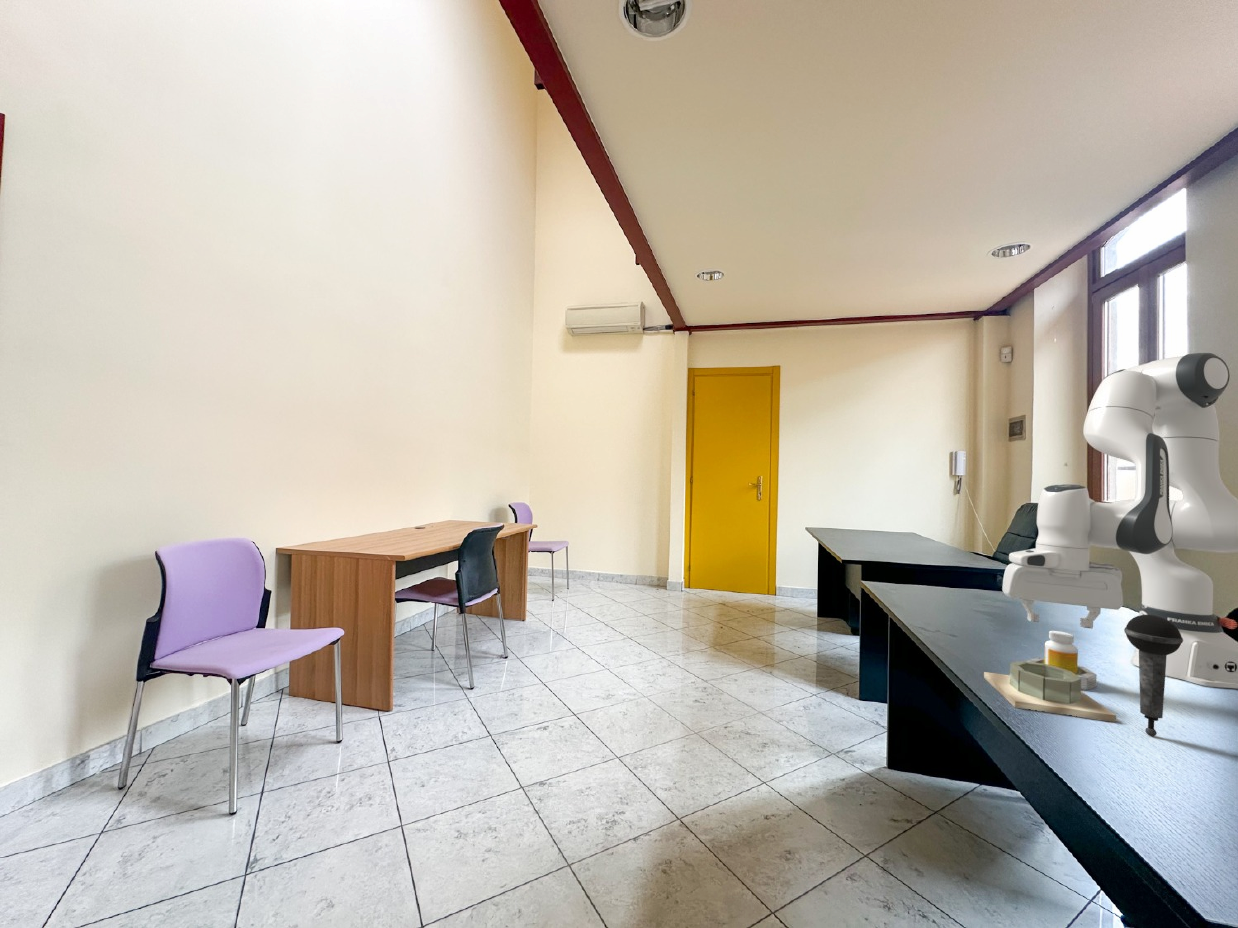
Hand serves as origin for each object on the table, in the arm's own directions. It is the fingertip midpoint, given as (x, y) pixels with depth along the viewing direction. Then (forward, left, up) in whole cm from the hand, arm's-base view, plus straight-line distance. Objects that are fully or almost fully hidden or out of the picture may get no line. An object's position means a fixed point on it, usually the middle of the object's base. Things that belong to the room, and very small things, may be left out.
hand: (1059, 624), depth 110 cm
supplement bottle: (-1, 0, -12) cm, 12 cm away
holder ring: (-1, 0, -12) cm, 12 cm away
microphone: (-2, +24, -12) cm, 27 cm away
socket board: (+8, +13, -12) cm, 19 cm away
